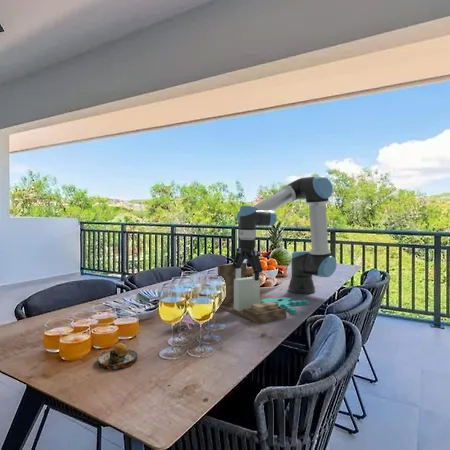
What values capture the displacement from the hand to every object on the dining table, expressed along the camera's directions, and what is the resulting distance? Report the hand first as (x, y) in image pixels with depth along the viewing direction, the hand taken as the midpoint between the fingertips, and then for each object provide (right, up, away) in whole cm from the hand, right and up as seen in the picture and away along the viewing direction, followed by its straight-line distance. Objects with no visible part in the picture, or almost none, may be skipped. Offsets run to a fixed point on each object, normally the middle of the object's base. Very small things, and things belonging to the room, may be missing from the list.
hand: (246, 284), depth 162 cm
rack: (+2, -12, -2) cm, 12 cm away
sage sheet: (0, -11, +1) cm, 11 cm away
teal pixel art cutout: (+18, -13, +8) cm, 23 cm away
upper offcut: (+7, -9, -11) cm, 16 cm away
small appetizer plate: (-43, -15, -54) cm, 71 cm away
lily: (-26, -13, -22) cm, 37 cm away
